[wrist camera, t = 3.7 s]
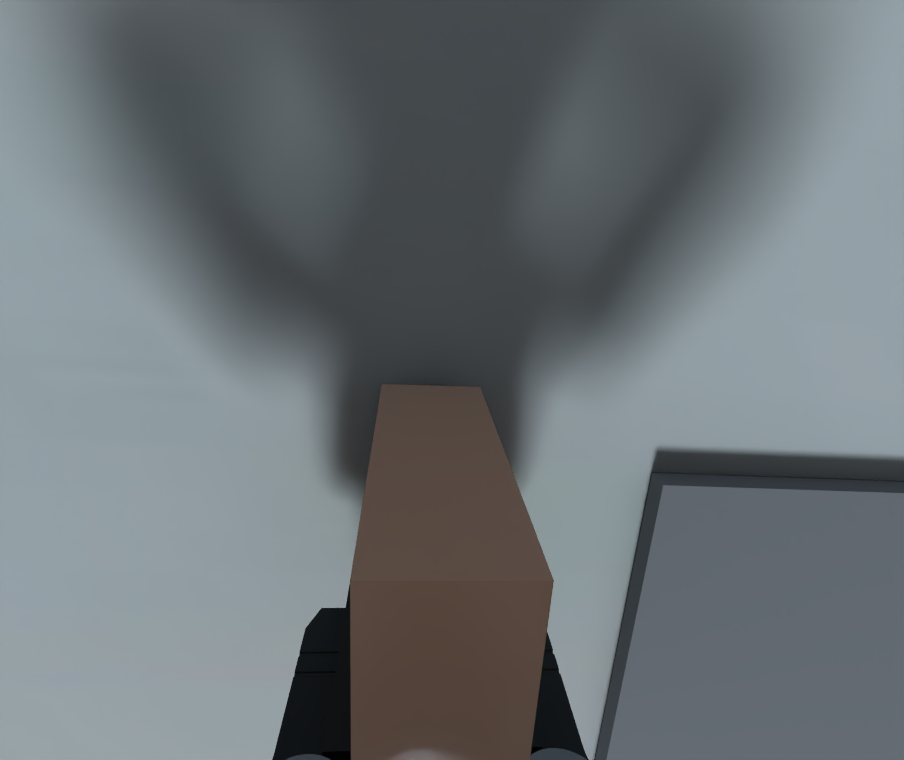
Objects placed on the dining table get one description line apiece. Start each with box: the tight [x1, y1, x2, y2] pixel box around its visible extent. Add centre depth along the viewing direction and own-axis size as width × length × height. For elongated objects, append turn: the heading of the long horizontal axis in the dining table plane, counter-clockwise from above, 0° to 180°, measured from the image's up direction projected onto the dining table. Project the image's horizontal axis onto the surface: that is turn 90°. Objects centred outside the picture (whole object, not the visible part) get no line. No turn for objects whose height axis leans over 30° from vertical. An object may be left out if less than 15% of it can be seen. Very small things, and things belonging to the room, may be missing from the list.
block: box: [350, 384, 554, 760], centre depth 10 cm, size 9×2×6 cm, turn 177°
